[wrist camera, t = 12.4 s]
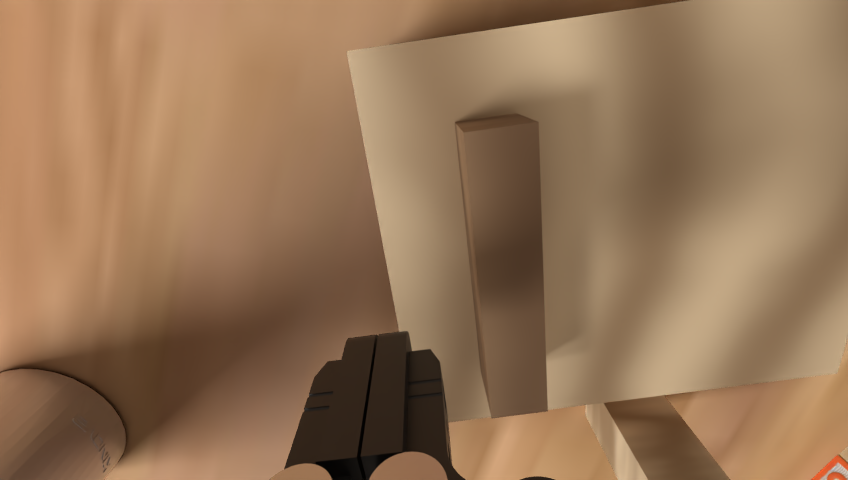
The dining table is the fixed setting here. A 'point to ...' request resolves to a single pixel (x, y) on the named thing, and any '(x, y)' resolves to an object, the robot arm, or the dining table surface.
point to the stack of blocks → (835, 468)
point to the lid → (616, 200)
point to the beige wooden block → (650, 441)
